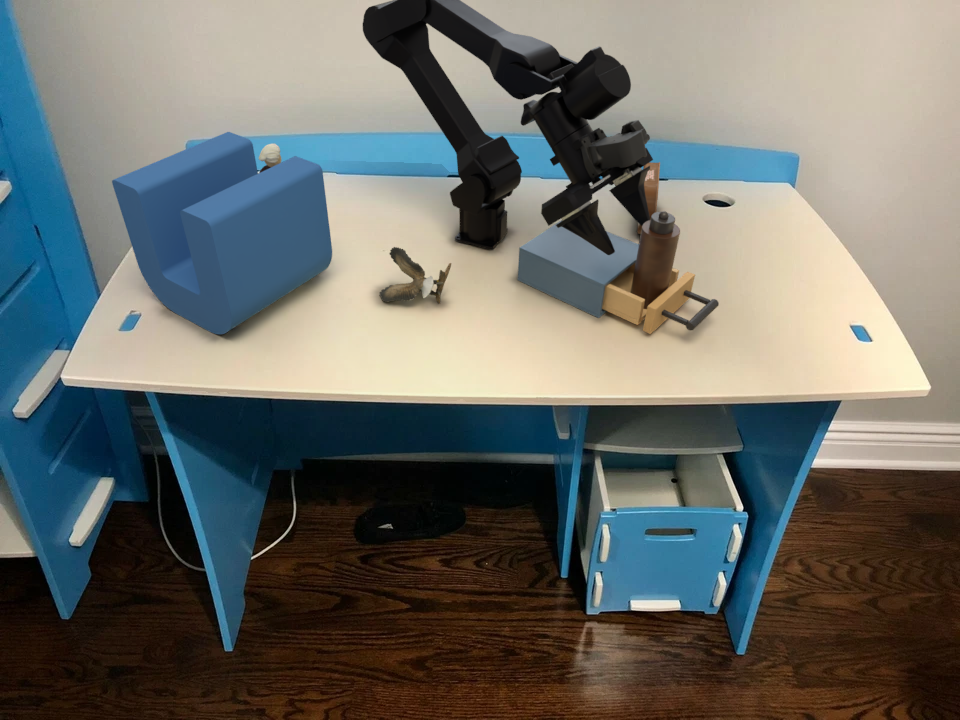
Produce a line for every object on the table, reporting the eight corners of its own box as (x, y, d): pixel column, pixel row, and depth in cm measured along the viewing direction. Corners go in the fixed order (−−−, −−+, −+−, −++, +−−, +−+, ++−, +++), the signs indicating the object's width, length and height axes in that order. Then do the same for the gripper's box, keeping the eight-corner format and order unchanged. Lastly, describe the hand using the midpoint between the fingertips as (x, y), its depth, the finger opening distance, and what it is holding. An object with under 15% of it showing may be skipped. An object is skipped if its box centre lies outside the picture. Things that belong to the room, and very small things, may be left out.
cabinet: (644, 281, 110) (650, 248, 106) (598, 318, 103) (603, 284, 99) (564, 247, 117) (568, 215, 113) (517, 280, 110) (519, 247, 106)
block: (336, 283, 108) (321, 165, 97) (238, 347, 97) (209, 222, 85) (248, 243, 116) (225, 130, 104) (148, 299, 104) (110, 178, 93)
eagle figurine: (451, 274, 108) (391, 256, 109) (452, 254, 101) (388, 234, 102) (435, 322, 106) (374, 304, 106) (435, 305, 99) (369, 285, 100)
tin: (652, 245, 118) (662, 196, 112) (632, 243, 118) (640, 194, 113) (655, 200, 129) (664, 154, 124) (637, 198, 129) (645, 152, 124)
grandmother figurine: (308, 221, 121) (297, 146, 113) (291, 231, 119) (279, 155, 111) (273, 208, 125) (260, 133, 116) (256, 217, 122) (241, 142, 114)
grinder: (630, 308, 102) (646, 220, 93) (628, 288, 106) (643, 201, 97) (666, 310, 102) (686, 222, 93) (663, 290, 105) (681, 203, 97)
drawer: (721, 311, 103) (728, 287, 101) (683, 349, 97) (689, 324, 94) (609, 264, 112) (612, 240, 109) (567, 295, 105) (570, 271, 103)
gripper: (570, 128, 87) (638, 245, 89) (652, 85, 98) (711, 190, 100) (512, 171, 96) (575, 277, 97) (593, 126, 107) (649, 222, 109)
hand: (630, 240), depth 100 cm, fingers open, 9 cm apart
